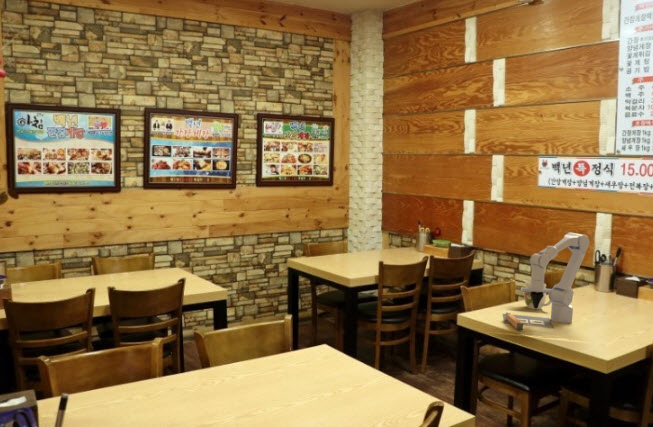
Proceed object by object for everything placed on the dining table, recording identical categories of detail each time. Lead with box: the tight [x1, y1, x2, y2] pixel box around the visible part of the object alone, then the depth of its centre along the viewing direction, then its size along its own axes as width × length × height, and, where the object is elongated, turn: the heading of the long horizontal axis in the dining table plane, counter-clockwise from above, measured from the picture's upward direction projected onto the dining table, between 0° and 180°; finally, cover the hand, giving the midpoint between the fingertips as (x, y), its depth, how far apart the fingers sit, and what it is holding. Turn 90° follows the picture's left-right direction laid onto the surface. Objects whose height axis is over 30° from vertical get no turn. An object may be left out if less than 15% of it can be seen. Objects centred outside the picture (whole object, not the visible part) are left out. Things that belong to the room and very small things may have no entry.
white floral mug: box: [522, 279, 552, 310], centre depth 299 cm, size 11×18×14 cm, turn 35°
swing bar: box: [507, 313, 524, 331], centre depth 260 cm, size 16×3×3 cm, turn 179°
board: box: [502, 311, 555, 329], centre depth 272 cm, size 22×18×5 cm
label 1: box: [517, 318, 528, 324], centre depth 269 cm, size 6×6×1 cm
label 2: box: [530, 320, 544, 326], centre depth 268 cm, size 6×6×1 cm
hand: (535, 307), depth 267 cm, fingers closed
